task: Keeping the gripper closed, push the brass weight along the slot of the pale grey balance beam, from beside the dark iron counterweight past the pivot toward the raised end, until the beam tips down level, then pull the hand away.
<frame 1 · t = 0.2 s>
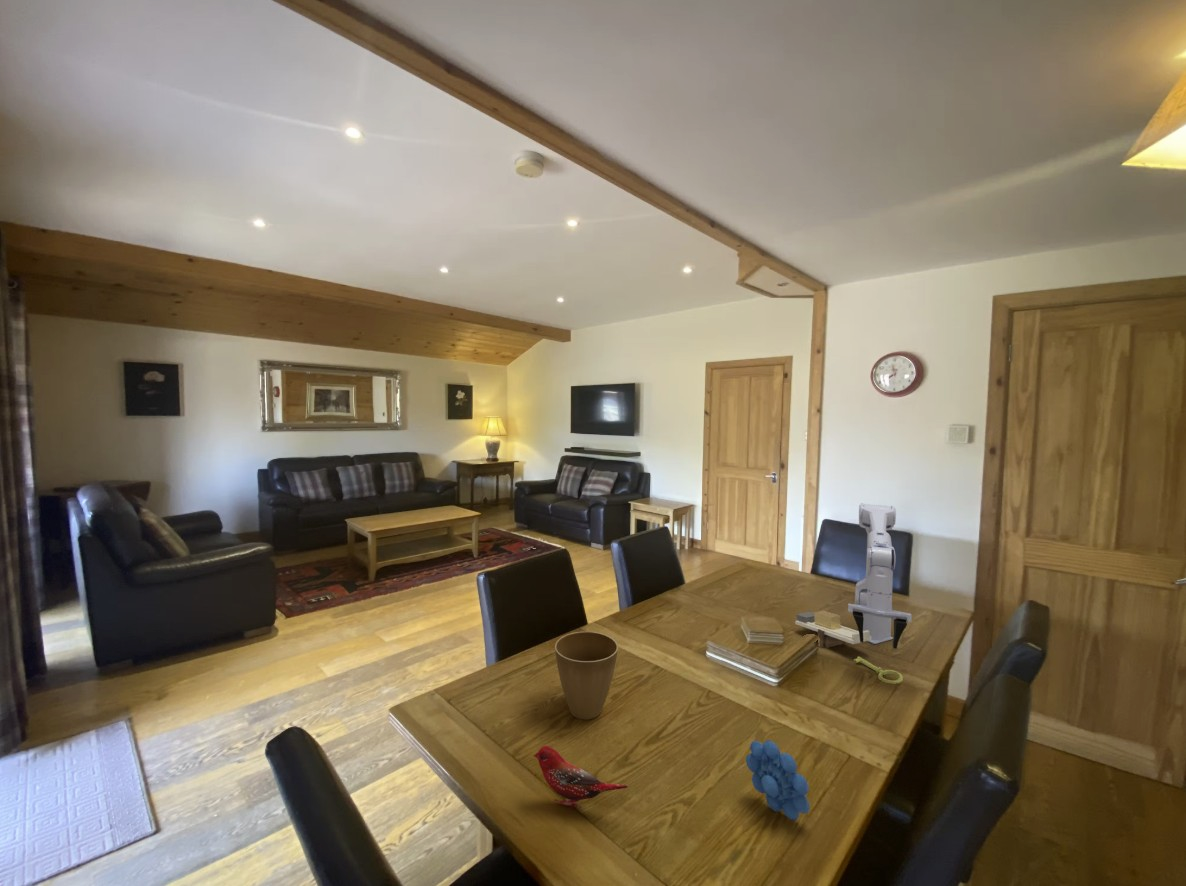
hand: (877, 644, 129), 11 cm above the table, tool pointing down, fingers open, 7 cm apart
blue flower: (773, 814, 86), on the table
decorative bird figurine: (578, 809, 87), on the table
plant pot: (585, 711, 116), on the table
key: (878, 675, 135), on the table
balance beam: (831, 626, 153), point 5 cm above the table, hinge at -6.0°, touching brass weight
fulcrum stand: (831, 643, 153), on the table
brass weight: (827, 626, 154), point 5 cm above the table, tilted 6°, touching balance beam
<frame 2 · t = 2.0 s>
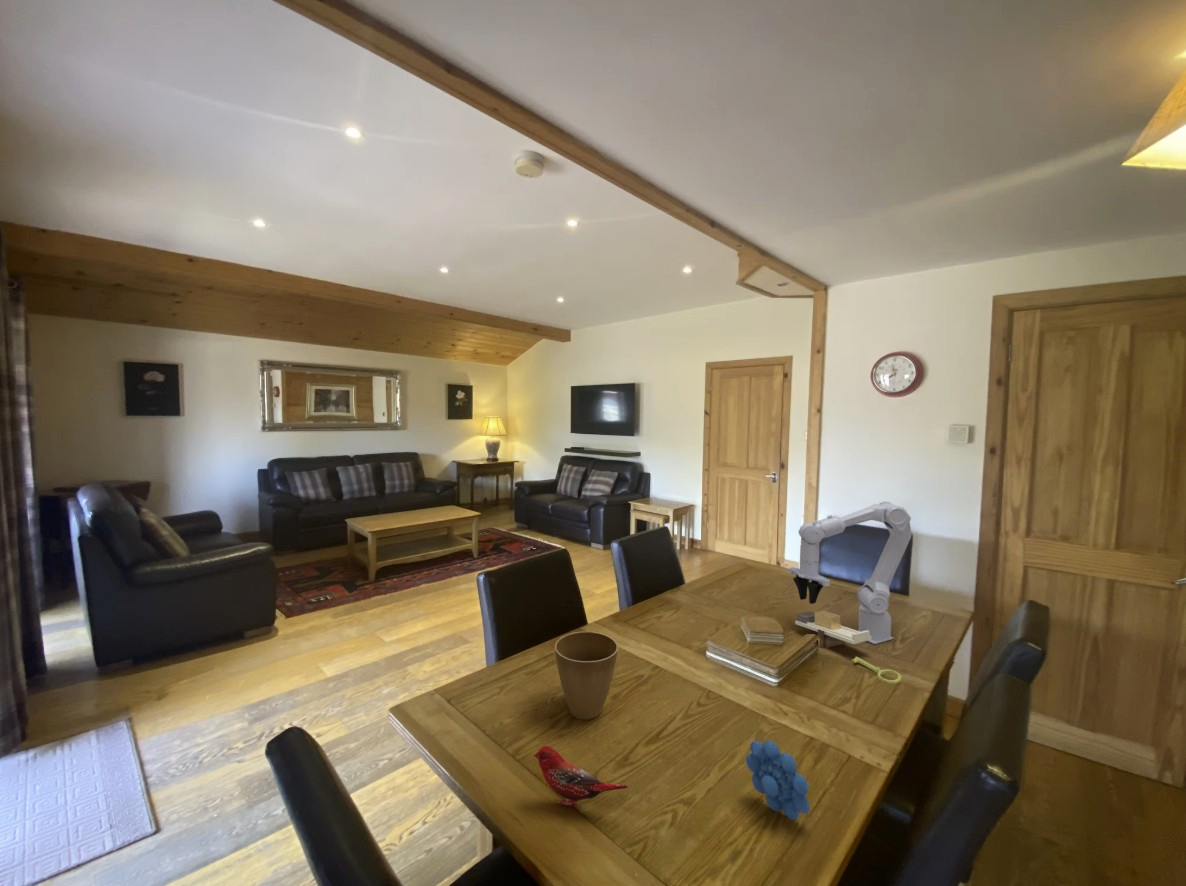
hand: (807, 601, 161), 10 cm above the table, tool pointing down, fingers open, 3 cm apart
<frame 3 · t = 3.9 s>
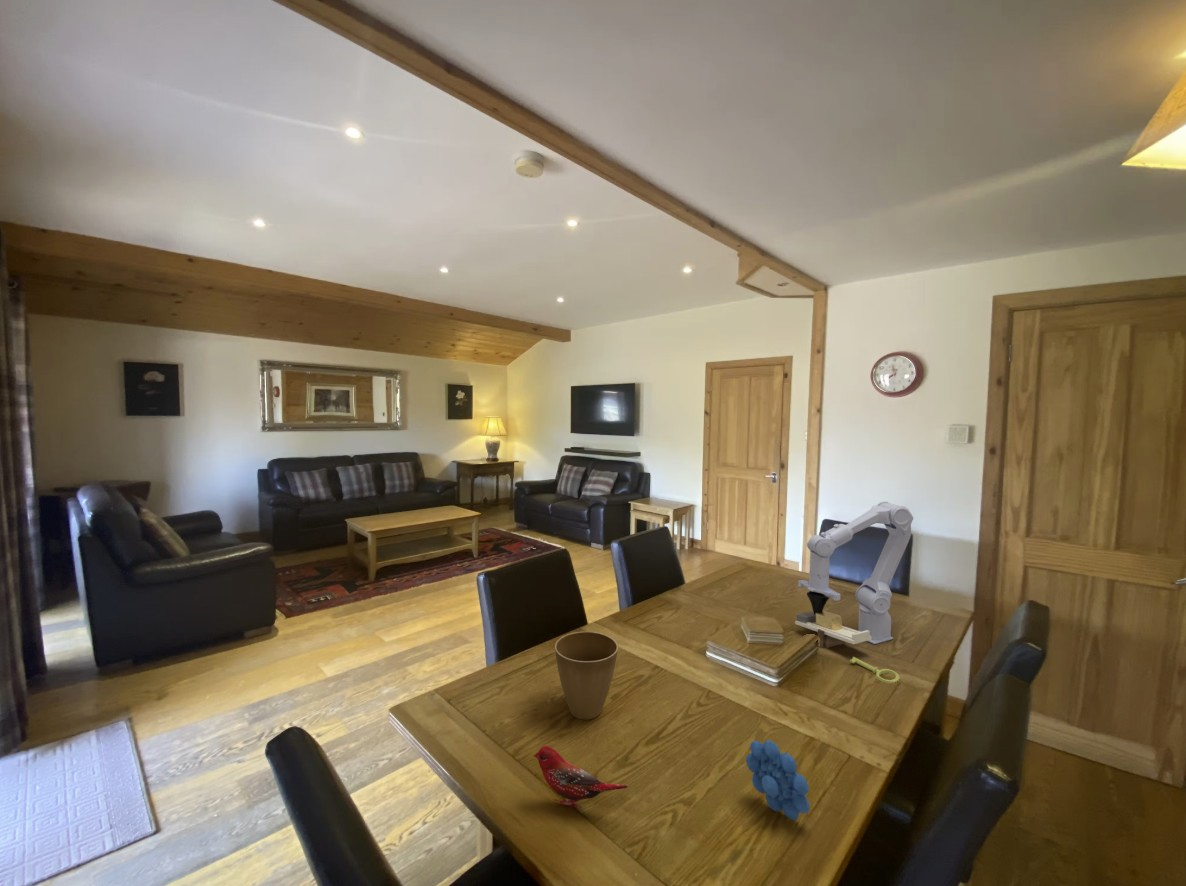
hand: (817, 615, 157), 7 cm above the table, tool pointing down, fingers closed
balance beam: (831, 626, 153), point 5 cm above the table, hinge at -6.0°
brass weight: (829, 627, 153), point 5 cm above the table, tilted 6°, touching gripper
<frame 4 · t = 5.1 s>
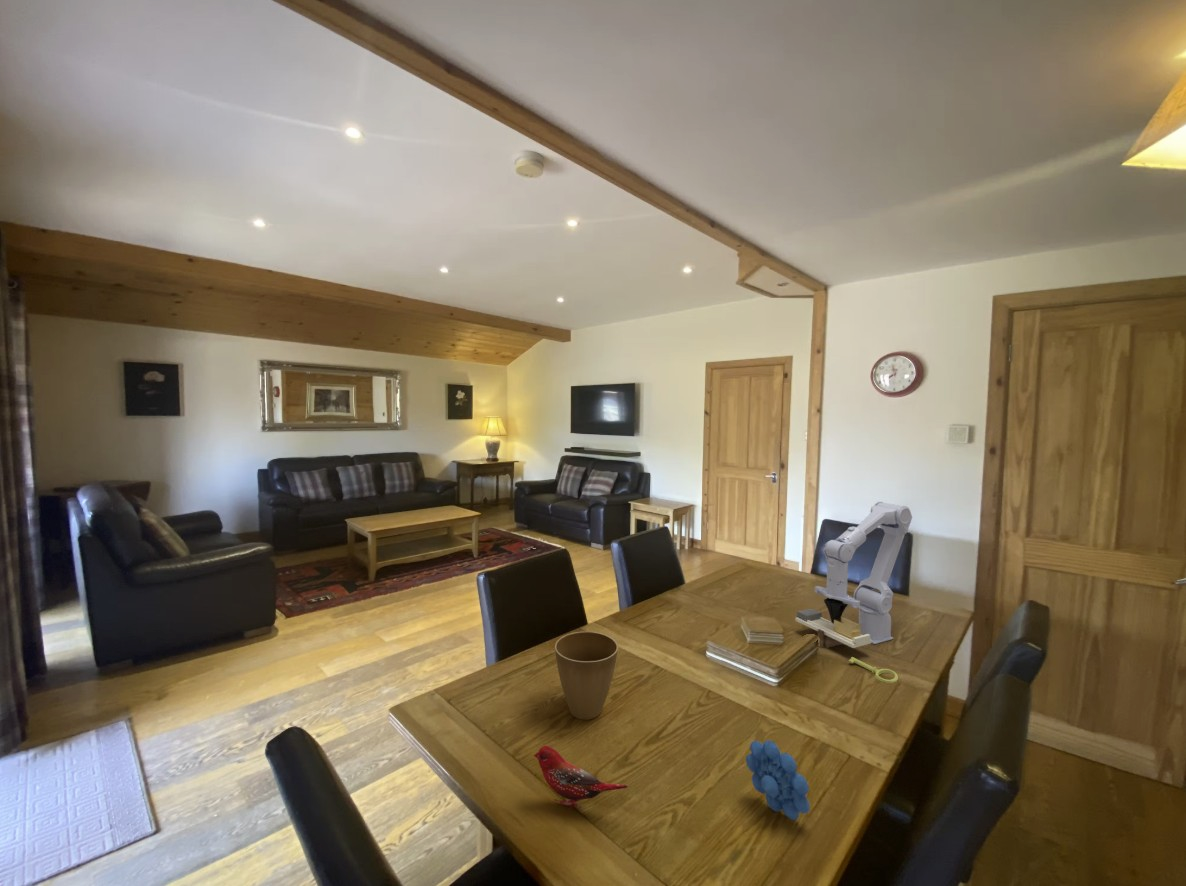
hand: (835, 622, 151), 7 cm above the table, tool pointing down, fingers closed
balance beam: (831, 626, 152), point 5 cm above the table, hinge at 0.0°
brass weight: (846, 635, 148), point 5 cm above the table, touching gripper
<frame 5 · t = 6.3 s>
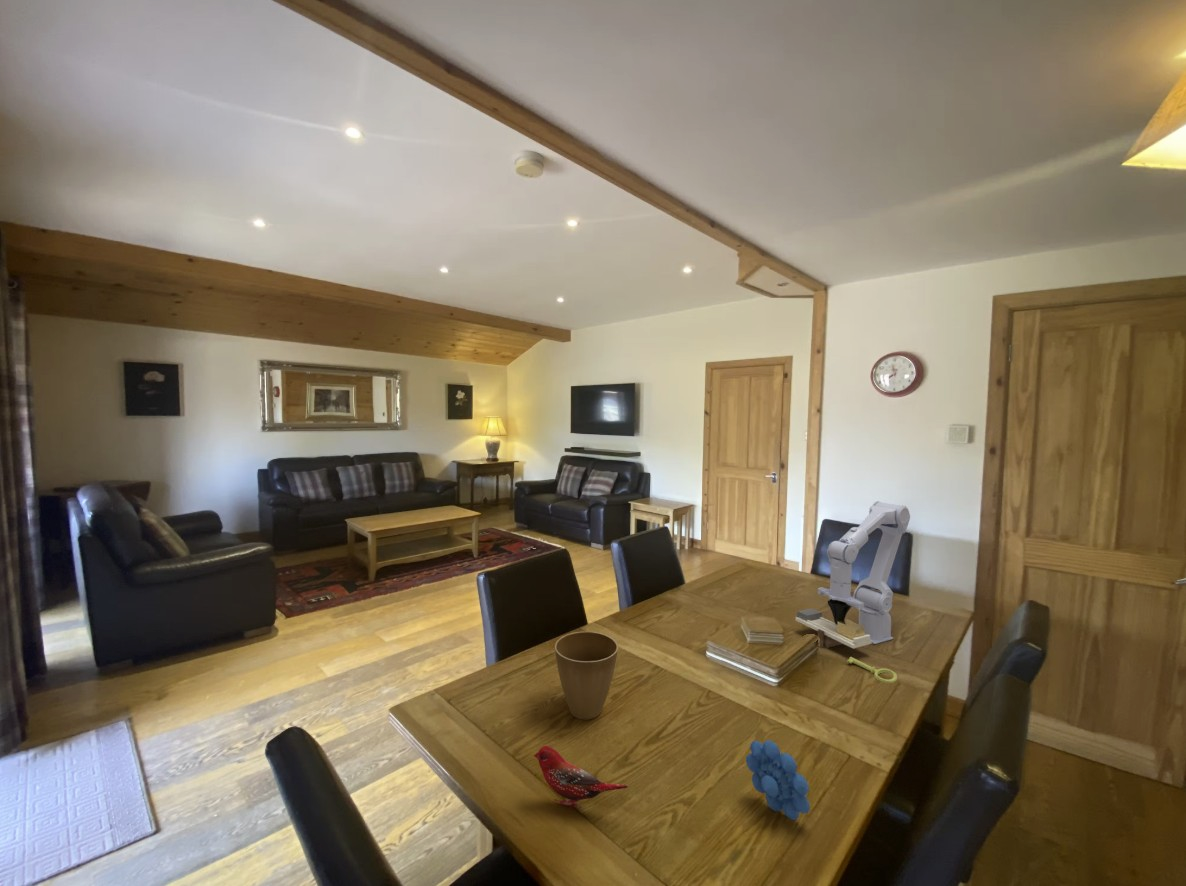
hand: (838, 624, 150), 7 cm above the table, tool pointing down, fingers closed
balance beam: (831, 626, 152), point 5 cm above the table, hinge at 0.7°, touching brass weight
brass weight: (850, 637, 146), point 5 cm above the table, touching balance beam, gripper
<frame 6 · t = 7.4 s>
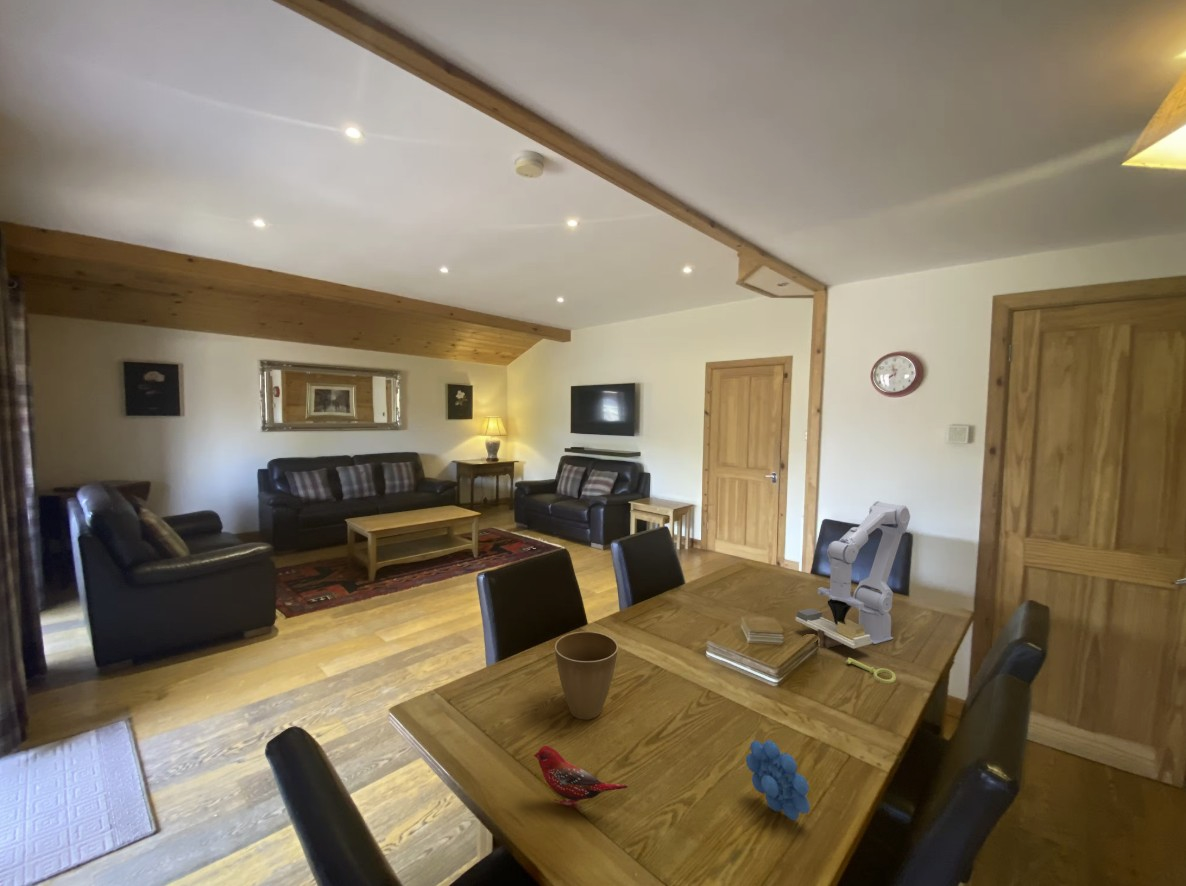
hand: (838, 624, 150), 7 cm above the table, tool pointing down, fingers closed
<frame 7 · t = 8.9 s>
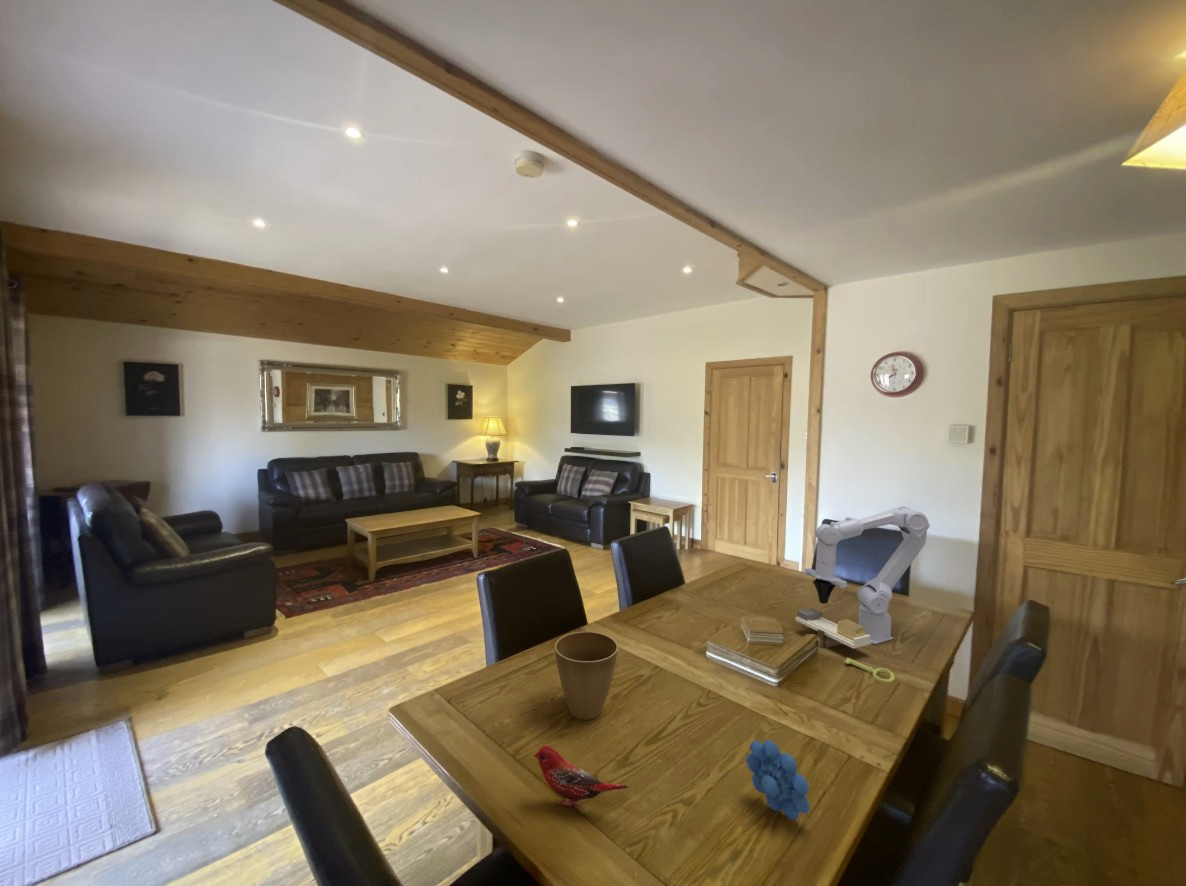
hand: (823, 602, 159), 10 cm above the table, tool pointing down, fingers closed
brass weight: (850, 637, 146), point 5 cm above the table, touching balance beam
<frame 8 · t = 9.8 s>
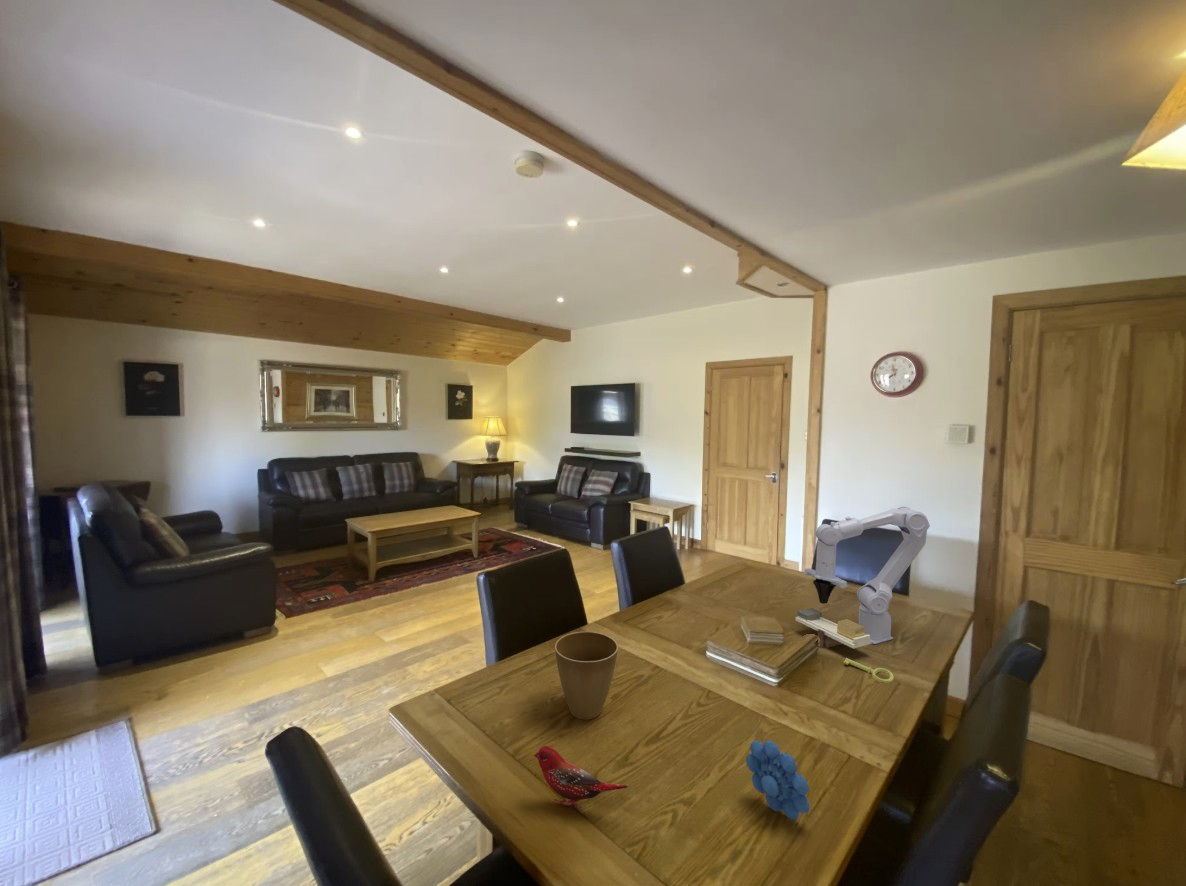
hand: (823, 602, 159), 10 cm above the table, tool pointing down, fingers closed
at the end: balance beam at +1° (first picture: -6°); brass weight 0.8 cm from the target spot on the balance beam, point 0.9 cm above the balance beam's base; the gripper is holding nothing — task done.
